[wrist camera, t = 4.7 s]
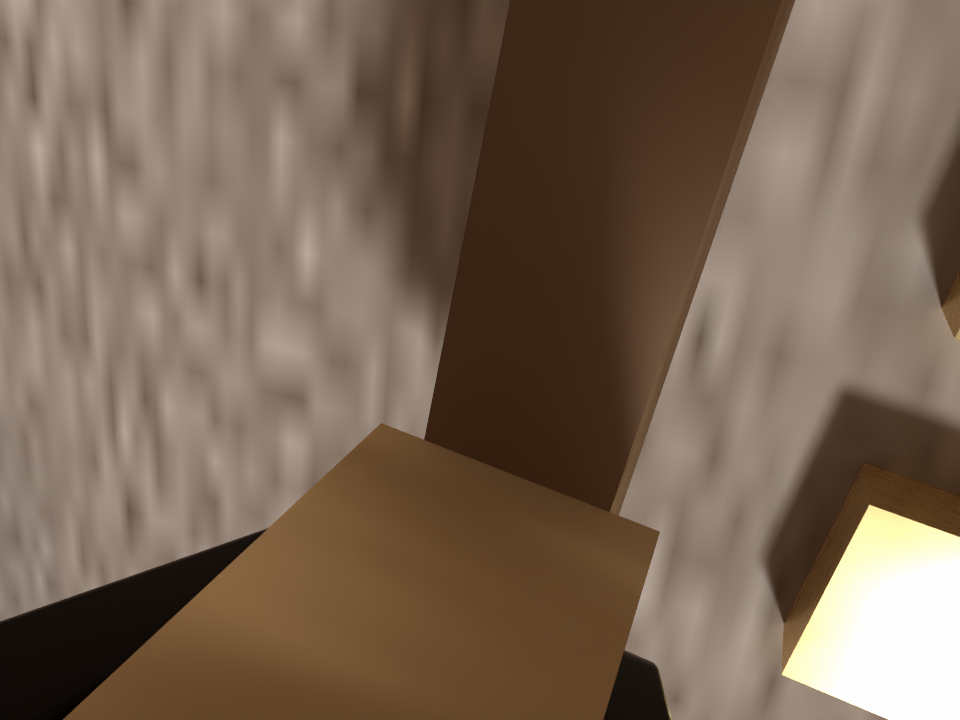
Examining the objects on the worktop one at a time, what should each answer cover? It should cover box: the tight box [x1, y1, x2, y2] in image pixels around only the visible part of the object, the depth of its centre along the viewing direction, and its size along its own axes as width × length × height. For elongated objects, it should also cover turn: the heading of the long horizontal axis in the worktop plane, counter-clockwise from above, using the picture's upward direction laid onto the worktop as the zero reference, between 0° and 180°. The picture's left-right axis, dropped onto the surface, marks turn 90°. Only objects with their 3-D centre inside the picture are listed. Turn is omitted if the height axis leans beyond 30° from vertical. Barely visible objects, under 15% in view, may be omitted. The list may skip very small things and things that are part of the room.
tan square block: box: [782, 463, 960, 720], centre depth 16 cm, size 4×4×2 cm
